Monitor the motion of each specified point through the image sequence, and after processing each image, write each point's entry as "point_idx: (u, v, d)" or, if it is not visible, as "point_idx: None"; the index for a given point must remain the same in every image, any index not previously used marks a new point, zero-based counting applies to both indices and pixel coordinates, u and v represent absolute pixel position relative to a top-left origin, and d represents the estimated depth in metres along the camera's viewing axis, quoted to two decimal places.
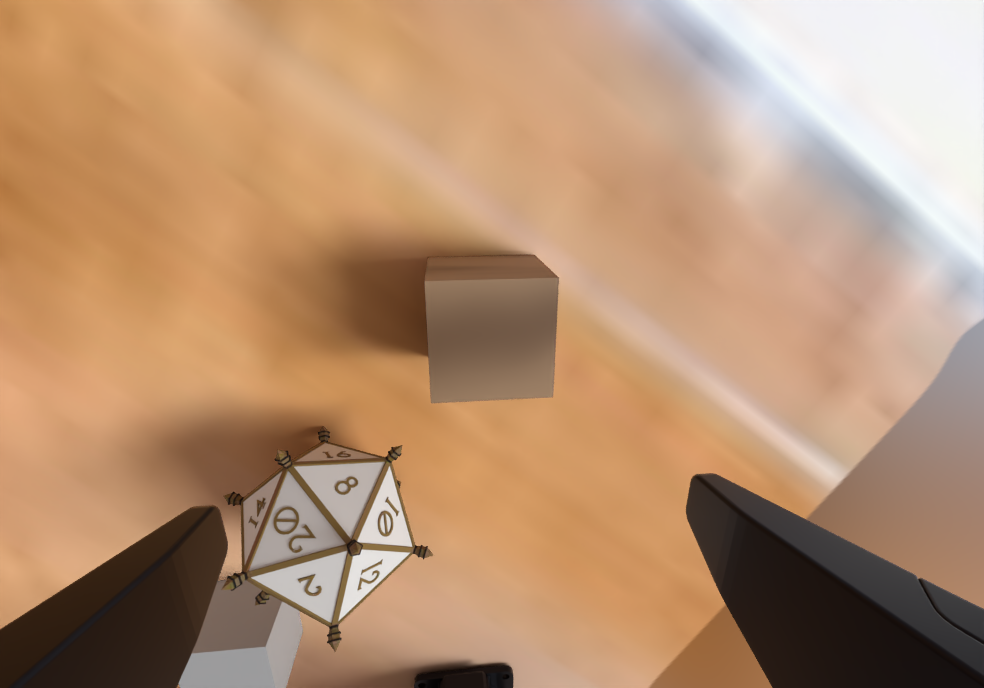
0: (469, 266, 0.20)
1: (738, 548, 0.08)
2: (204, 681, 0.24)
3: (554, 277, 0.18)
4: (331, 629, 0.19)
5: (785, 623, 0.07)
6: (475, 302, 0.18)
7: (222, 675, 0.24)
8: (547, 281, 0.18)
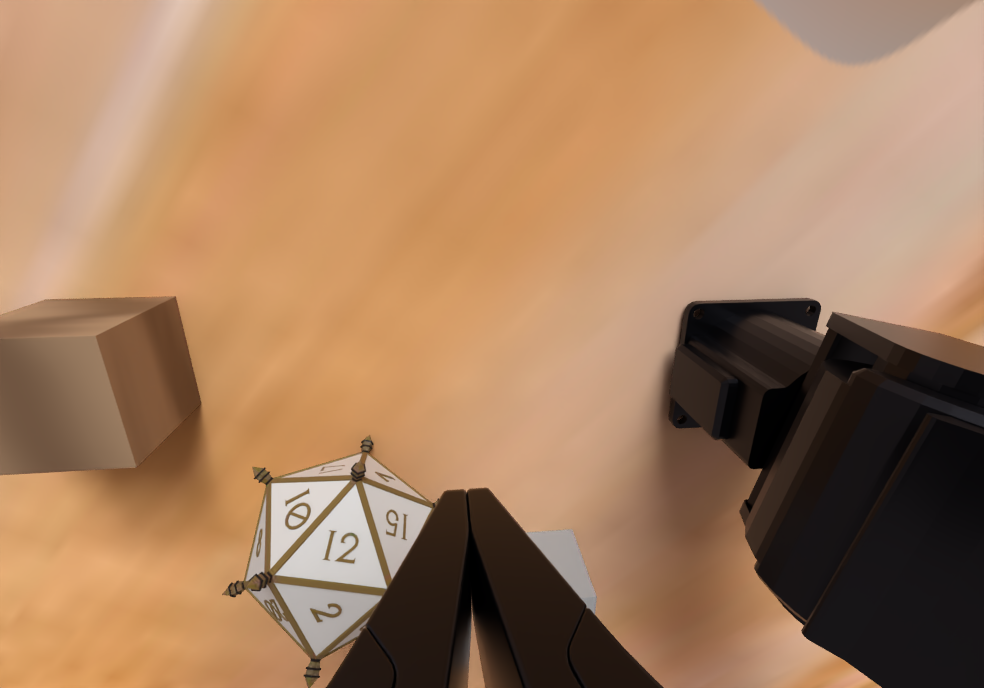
0: None
1: (473, 569, 0.07)
2: None
3: None
4: None
5: (488, 652, 0.07)
6: None
7: None
8: None
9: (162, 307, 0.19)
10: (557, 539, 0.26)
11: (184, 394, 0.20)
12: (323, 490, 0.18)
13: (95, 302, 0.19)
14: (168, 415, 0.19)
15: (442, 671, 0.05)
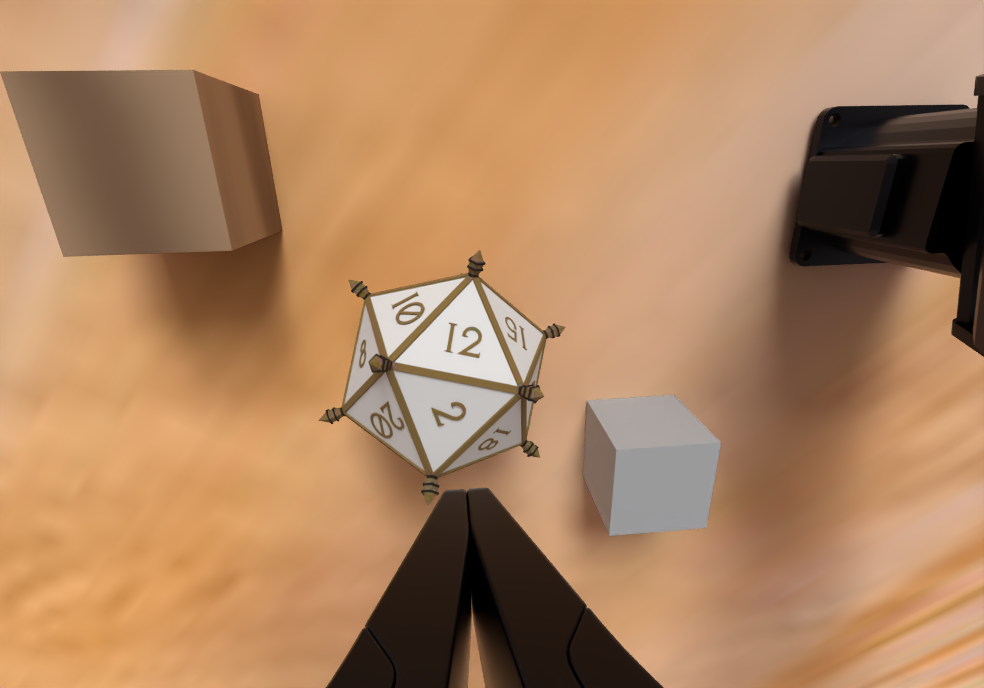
0: None
1: (473, 569, 0.07)
2: (655, 510, 0.21)
3: (5, 78, 0.13)
4: (522, 395, 0.15)
5: (488, 652, 0.07)
6: (73, 192, 0.14)
7: (651, 493, 0.21)
8: (11, 89, 0.13)
9: (248, 95, 0.17)
10: (660, 402, 0.23)
11: (268, 207, 0.18)
12: (435, 290, 0.16)
13: None
14: (256, 218, 0.17)
15: (442, 671, 0.05)
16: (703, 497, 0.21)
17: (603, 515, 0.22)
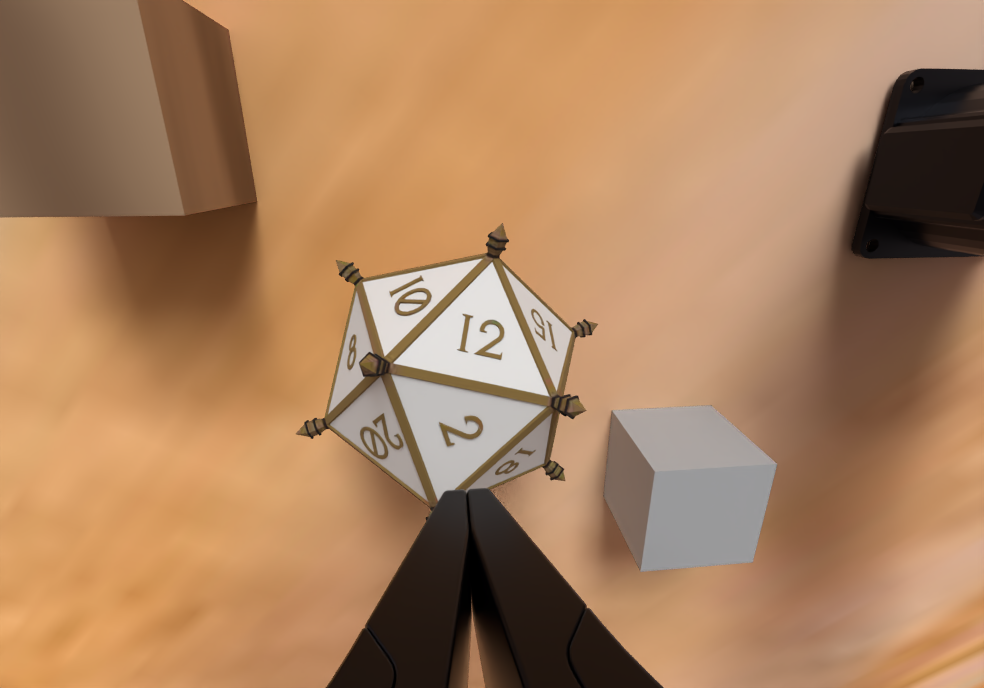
0: None
1: (473, 569, 0.07)
2: (695, 542, 0.18)
3: None
4: (556, 408, 0.12)
5: (488, 652, 0.07)
6: None
7: (692, 522, 0.17)
8: None
9: (213, 27, 0.13)
10: (697, 414, 0.20)
11: (239, 171, 0.15)
12: (444, 274, 0.13)
13: None
14: (221, 180, 0.14)
15: (442, 671, 0.05)
16: (752, 527, 0.18)
17: (632, 546, 0.19)
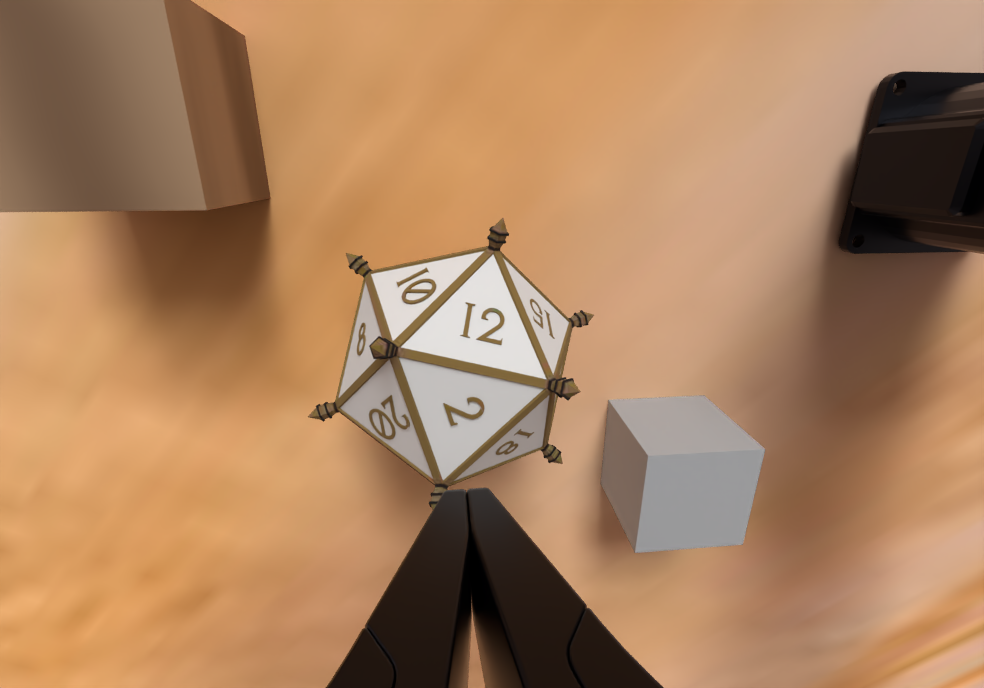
0: None
1: (474, 569, 0.07)
2: (687, 524, 0.19)
3: None
4: (552, 390, 0.12)
5: (488, 652, 0.07)
6: (10, 132, 0.11)
7: (684, 505, 0.18)
8: None
9: (231, 33, 0.14)
10: (690, 403, 0.21)
11: (254, 169, 0.16)
12: (448, 265, 0.14)
13: None
14: (238, 178, 0.14)
15: (442, 671, 0.05)
16: (741, 510, 0.19)
17: (627, 529, 0.19)
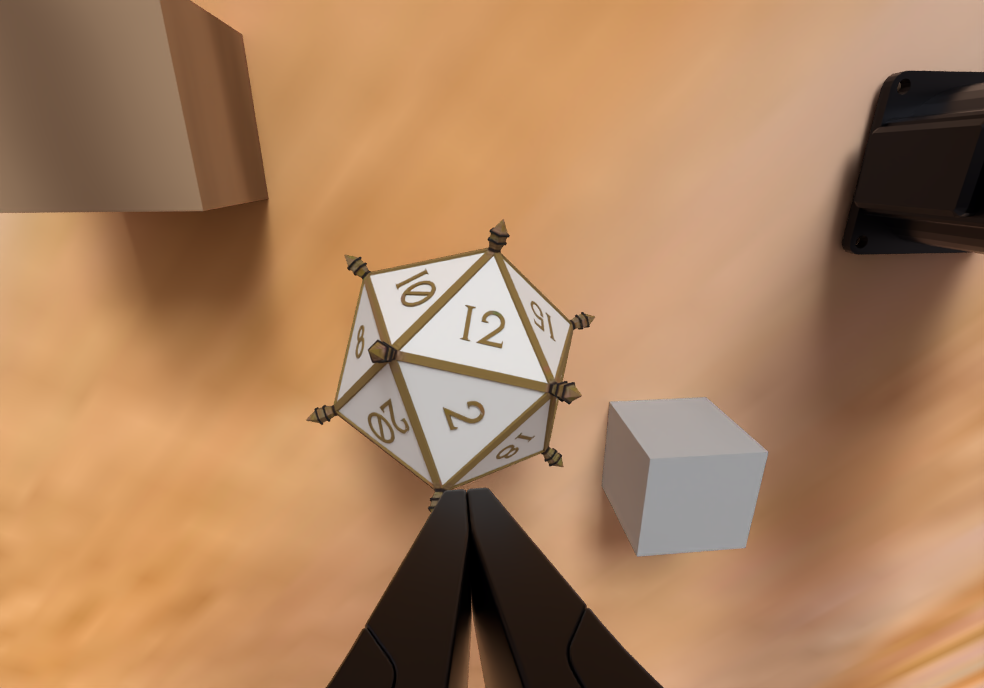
0: None
1: (474, 569, 0.07)
2: (690, 528, 0.18)
3: None
4: (553, 394, 0.12)
5: (488, 652, 0.07)
6: (3, 131, 0.11)
7: (686, 508, 0.18)
8: None
9: (229, 32, 0.14)
10: (692, 405, 0.21)
11: (252, 169, 0.15)
12: (448, 267, 0.14)
13: None
14: (235, 178, 0.14)
15: (442, 671, 0.05)
16: (744, 513, 0.18)
17: (629, 532, 0.19)
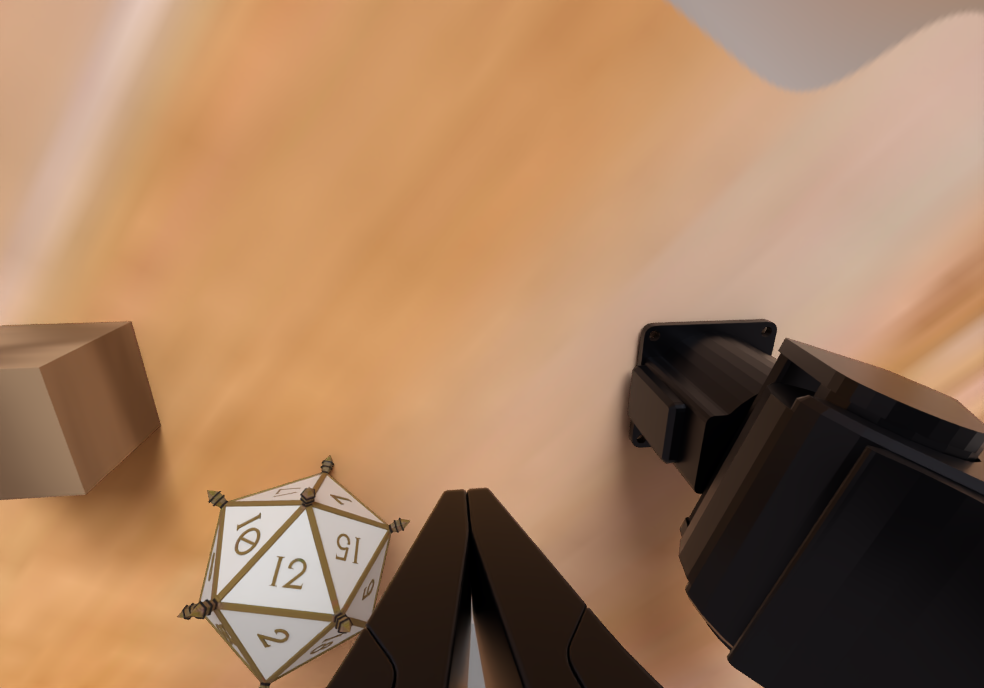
0: None
1: (473, 569, 0.07)
2: None
3: None
4: None
5: (488, 652, 0.07)
6: None
7: None
8: None
9: (116, 333, 0.19)
10: None
11: (141, 418, 0.20)
12: (274, 515, 0.18)
13: (50, 328, 0.19)
14: (122, 440, 0.19)
15: (442, 671, 0.05)
16: None
17: None
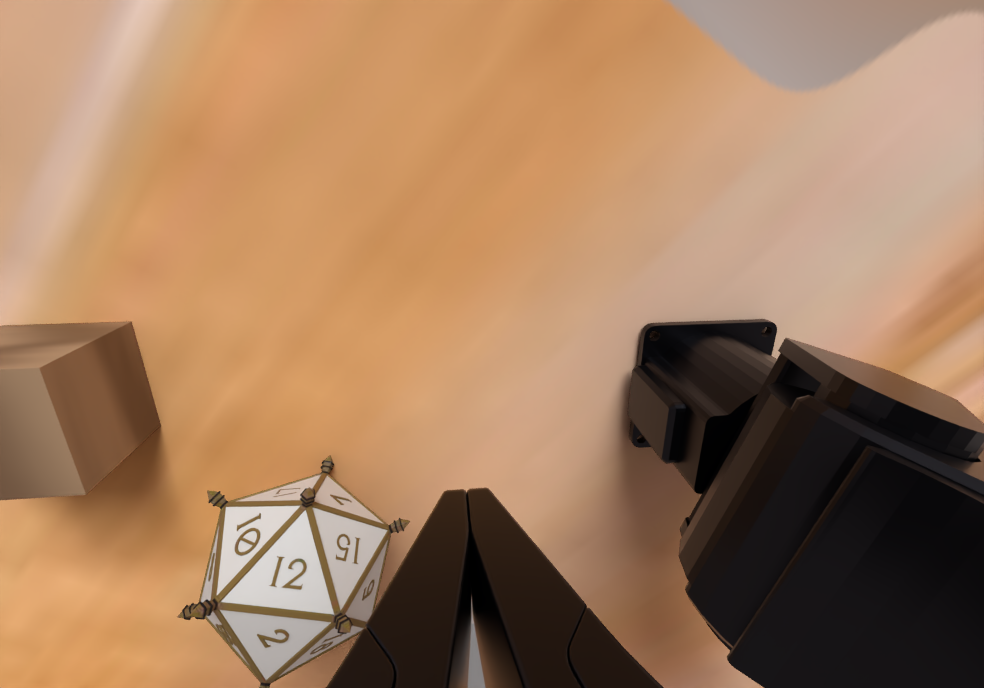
0: None
1: (473, 569, 0.07)
2: None
3: None
4: None
5: (488, 652, 0.07)
6: None
7: None
8: None
9: (116, 333, 0.19)
10: None
11: (141, 418, 0.20)
12: (274, 515, 0.18)
13: (50, 328, 0.19)
14: (122, 440, 0.19)
15: (442, 671, 0.05)
16: None
17: None
